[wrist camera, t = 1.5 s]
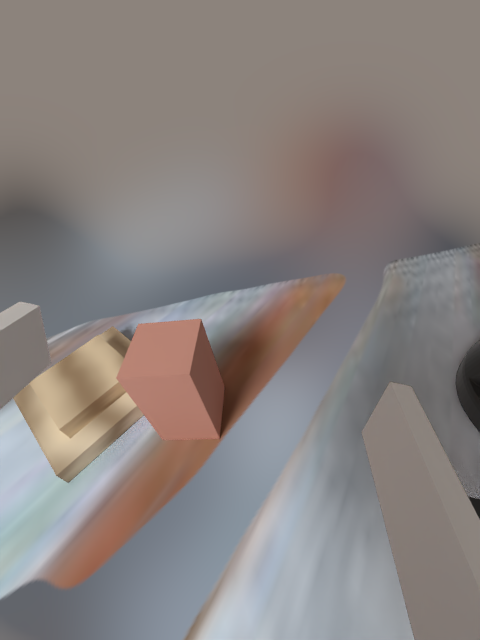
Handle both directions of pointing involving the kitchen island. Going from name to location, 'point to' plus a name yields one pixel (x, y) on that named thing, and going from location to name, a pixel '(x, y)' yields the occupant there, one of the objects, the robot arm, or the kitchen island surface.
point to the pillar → (175, 379)
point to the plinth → (88, 436)
